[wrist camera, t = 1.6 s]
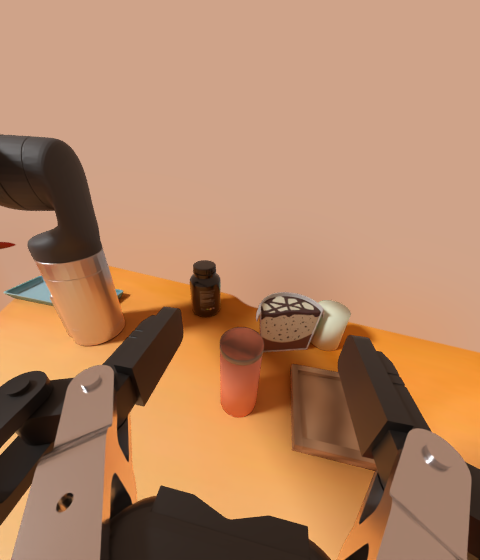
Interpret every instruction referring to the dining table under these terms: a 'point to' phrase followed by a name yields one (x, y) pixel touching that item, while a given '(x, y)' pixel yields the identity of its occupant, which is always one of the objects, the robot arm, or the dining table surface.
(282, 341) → the food container
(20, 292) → the shallow long dish
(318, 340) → the sage tin
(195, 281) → the supplement bottle
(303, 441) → the tray
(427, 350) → the dining table surface
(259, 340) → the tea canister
